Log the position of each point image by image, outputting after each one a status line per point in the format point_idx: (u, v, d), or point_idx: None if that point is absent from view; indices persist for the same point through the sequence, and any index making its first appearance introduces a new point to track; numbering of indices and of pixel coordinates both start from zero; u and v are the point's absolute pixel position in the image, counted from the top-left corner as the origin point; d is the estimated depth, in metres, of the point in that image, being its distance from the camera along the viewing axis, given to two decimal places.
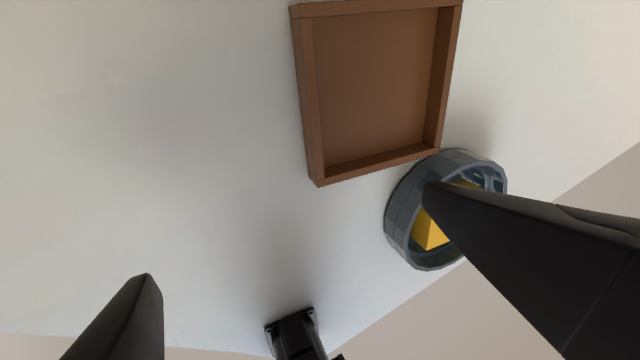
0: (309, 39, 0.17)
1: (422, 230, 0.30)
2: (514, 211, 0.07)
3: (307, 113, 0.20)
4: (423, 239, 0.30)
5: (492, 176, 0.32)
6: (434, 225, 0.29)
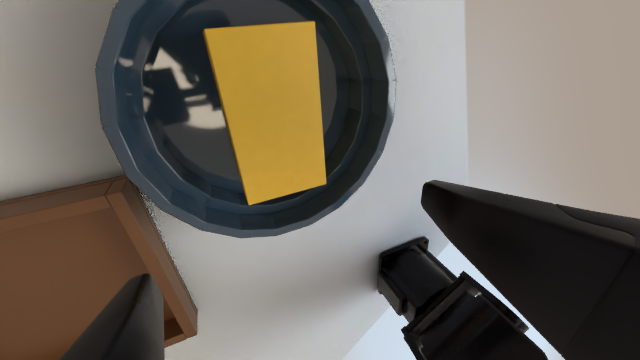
0: None
1: None
2: (514, 211, 0.07)
3: None
4: None
5: None
6: (270, 191, 0.15)
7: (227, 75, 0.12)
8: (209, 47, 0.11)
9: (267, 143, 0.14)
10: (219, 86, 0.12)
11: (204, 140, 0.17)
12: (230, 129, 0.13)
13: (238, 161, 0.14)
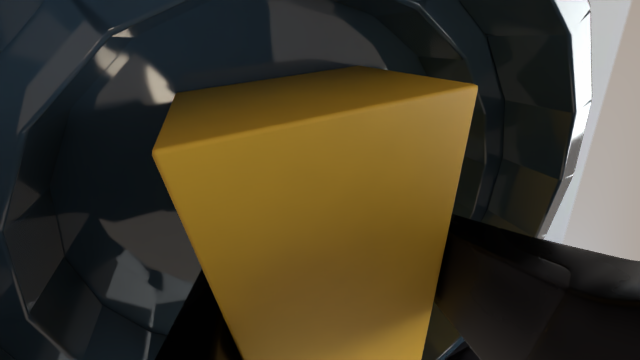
0: None
1: None
2: (455, 236, 0.06)
3: None
4: None
5: (19, 6, 0.03)
6: None
7: (234, 257, 0.04)
8: (175, 200, 0.03)
9: (325, 348, 0.06)
10: (212, 285, 0.04)
11: (189, 283, 0.09)
12: (243, 355, 0.05)
13: None
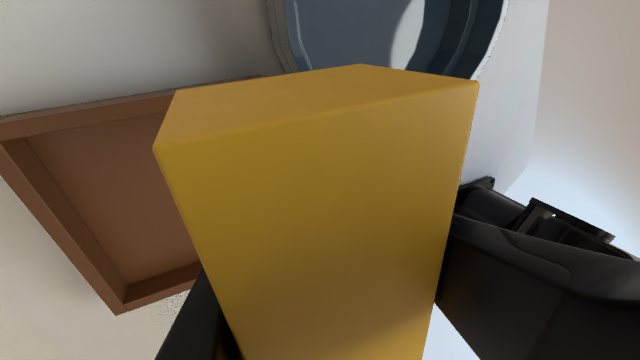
0: (144, 300, 0.19)
1: None
2: (455, 236, 0.06)
3: None
4: None
5: None
6: None
7: (235, 255, 0.04)
8: (175, 197, 0.03)
9: (326, 346, 0.06)
10: (213, 282, 0.04)
11: (325, 43, 0.18)
12: (243, 353, 0.05)
13: None
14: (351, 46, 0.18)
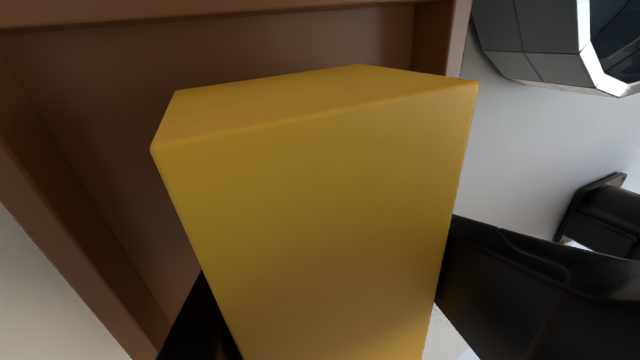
0: None
1: None
2: (454, 236, 0.06)
3: None
4: None
5: None
6: None
7: (233, 255, 0.04)
8: (173, 197, 0.03)
9: (325, 347, 0.06)
10: (211, 283, 0.04)
11: None
12: (242, 354, 0.05)
13: None
14: None
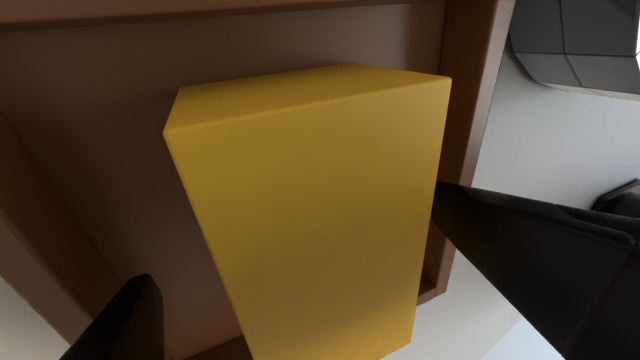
0: None
1: None
2: (514, 211, 0.07)
3: None
4: None
5: None
6: None
7: (233, 230, 0.05)
8: (182, 175, 0.04)
9: (318, 322, 0.07)
10: (214, 255, 0.05)
11: None
12: (241, 324, 0.06)
13: None
14: None
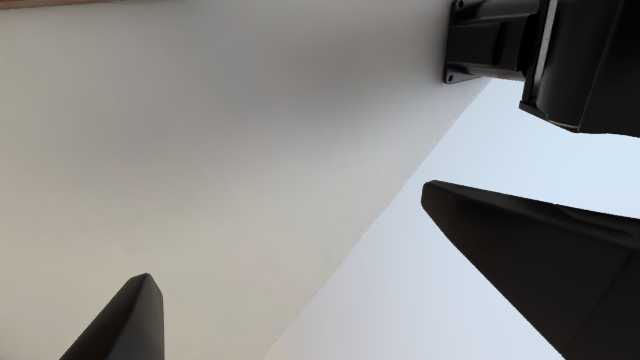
0: None
1: None
2: (514, 211, 0.07)
3: (40, 1, 0.11)
4: None
5: None
6: None
7: None
8: None
9: None
10: None
11: None
12: None
13: None
14: None
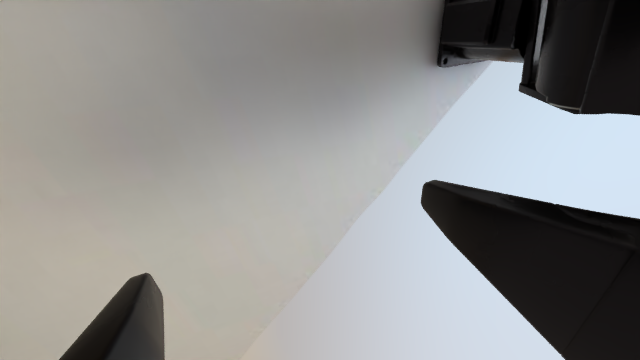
0: None
1: None
2: (514, 211, 0.07)
3: None
4: None
5: None
6: None
7: None
8: None
9: None
10: None
11: None
12: None
13: None
14: None
